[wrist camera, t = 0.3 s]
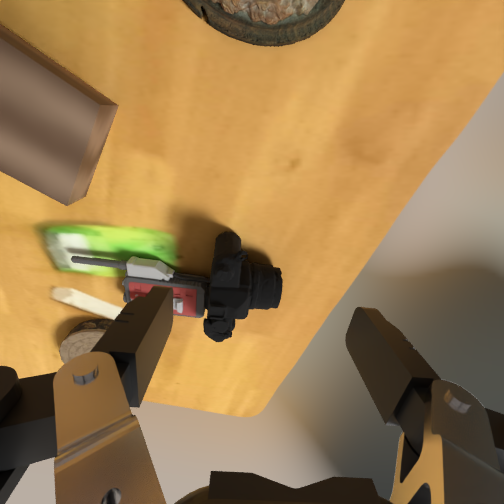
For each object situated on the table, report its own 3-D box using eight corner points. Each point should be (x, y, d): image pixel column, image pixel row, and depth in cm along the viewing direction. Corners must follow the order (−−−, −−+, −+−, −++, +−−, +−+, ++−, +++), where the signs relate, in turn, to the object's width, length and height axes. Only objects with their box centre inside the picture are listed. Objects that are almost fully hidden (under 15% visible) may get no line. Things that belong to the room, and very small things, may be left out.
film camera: (264, 312, 41) (270, 360, 33) (206, 307, 40) (198, 356, 32) (285, 233, 33) (299, 273, 25) (214, 224, 32) (206, 263, 24)
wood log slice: (117, 381, 51) (110, 395, 49) (51, 338, 44) (39, 352, 42) (175, 356, 47) (170, 371, 45) (112, 304, 40) (103, 318, 38)
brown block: (-7, 17, 22) (-55, 1, 19) (120, 105, 26) (100, 105, 22) (-21, 135, 27) (-60, 139, 24) (87, 195, 31) (66, 206, 27)
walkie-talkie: (216, 264, 35) (76, 247, 34) (212, 283, 32) (53, 264, 30) (213, 307, 40) (89, 293, 39) (209, 329, 36) (71, 314, 35)
